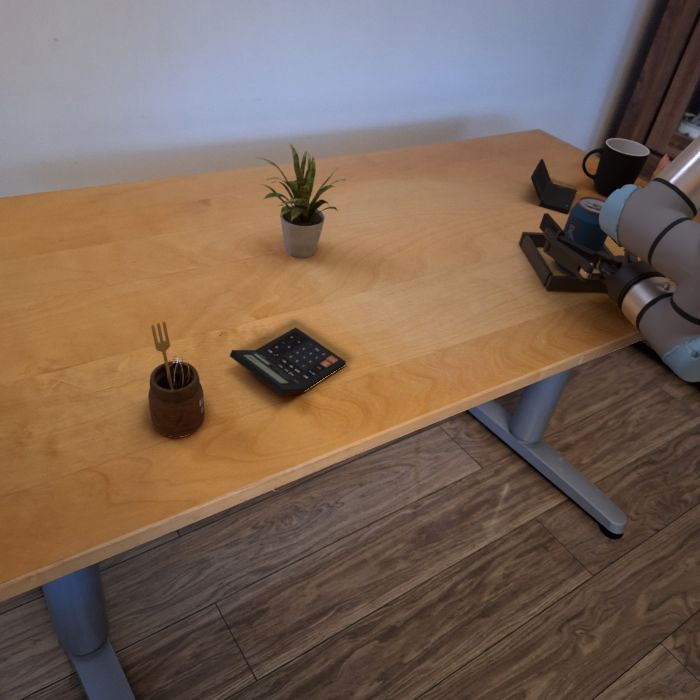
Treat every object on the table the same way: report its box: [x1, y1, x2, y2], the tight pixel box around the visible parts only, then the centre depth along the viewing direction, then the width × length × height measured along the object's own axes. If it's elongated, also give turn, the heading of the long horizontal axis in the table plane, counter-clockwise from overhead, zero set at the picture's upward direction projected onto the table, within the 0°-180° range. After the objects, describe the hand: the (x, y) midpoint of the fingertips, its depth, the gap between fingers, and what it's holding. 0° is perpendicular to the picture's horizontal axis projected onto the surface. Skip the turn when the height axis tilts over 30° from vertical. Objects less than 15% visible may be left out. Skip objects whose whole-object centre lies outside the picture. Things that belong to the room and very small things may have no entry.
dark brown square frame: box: [518, 231, 615, 293], centre depth 107 cm, size 15×15×2 cm
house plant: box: [256, 143, 348, 259], centre depth 97 cm, size 14×14×16 cm
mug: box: [581, 137, 651, 198], centre depth 131 cm, size 12×9×10 cm
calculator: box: [229, 327, 347, 397], centre depth 79 cm, size 9×12×3 cm
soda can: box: [553, 196, 609, 276], centre depth 104 cm, size 7×7×12 cm
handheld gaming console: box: [530, 158, 578, 215], centre depth 127 cm, size 12×7×10 cm
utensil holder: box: [147, 320, 205, 438], centre depth 67 cm, size 6×6×12 cm
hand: (574, 220), depth 106 cm, fingers open, 11 cm apart
